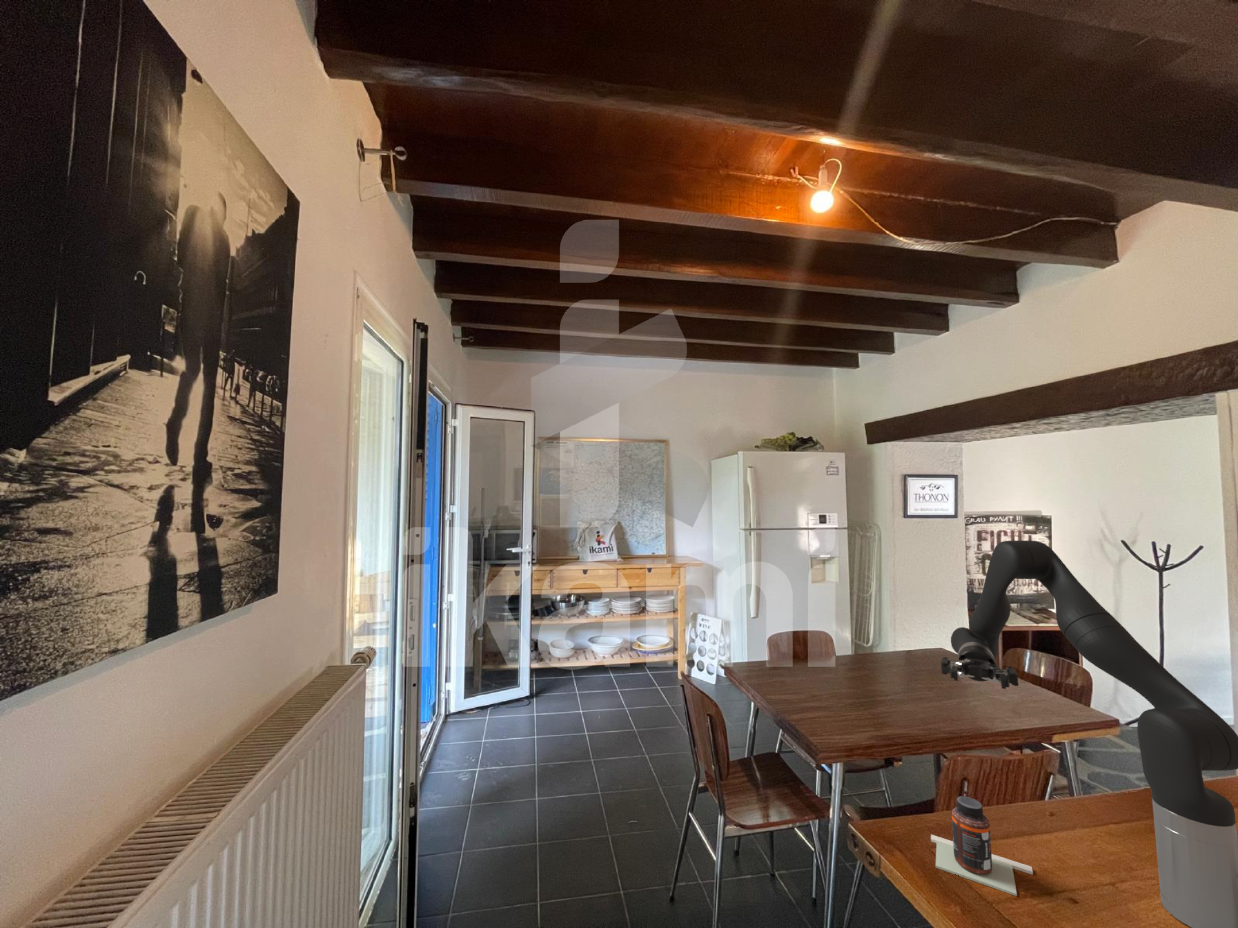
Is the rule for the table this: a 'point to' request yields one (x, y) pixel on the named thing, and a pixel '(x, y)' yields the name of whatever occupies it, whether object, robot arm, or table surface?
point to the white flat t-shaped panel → (996, 879)
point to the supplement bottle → (971, 836)
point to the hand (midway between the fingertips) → (979, 680)
